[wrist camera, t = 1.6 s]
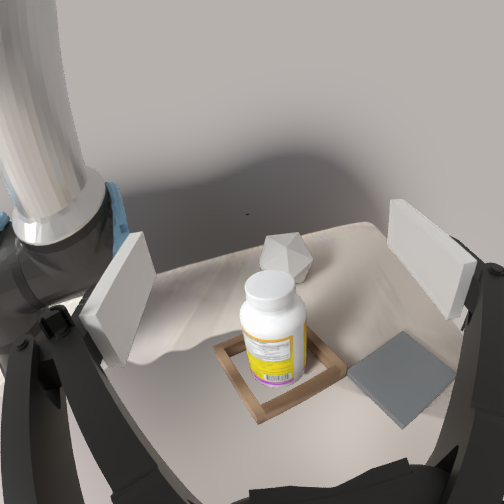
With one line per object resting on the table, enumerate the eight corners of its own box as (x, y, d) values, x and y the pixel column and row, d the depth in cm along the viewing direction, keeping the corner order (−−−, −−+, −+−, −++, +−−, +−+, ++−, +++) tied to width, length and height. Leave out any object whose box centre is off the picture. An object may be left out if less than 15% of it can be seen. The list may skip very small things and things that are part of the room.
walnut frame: (216, 356, 37) (213, 346, 36) (292, 322, 41) (292, 311, 40) (258, 424, 28) (256, 416, 27) (345, 376, 31) (347, 366, 30)
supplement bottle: (279, 339, 38) (272, 255, 32) (317, 366, 34) (321, 279, 27) (239, 368, 35) (220, 284, 28) (276, 400, 30) (267, 317, 24)
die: (309, 266, 53) (276, 223, 52) (332, 266, 45) (295, 215, 44) (276, 296, 52) (241, 253, 50) (294, 302, 43) (253, 251, 42)
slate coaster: (345, 373, 32) (346, 369, 31) (401, 335, 35) (402, 331, 35) (402, 429, 24) (404, 426, 23) (455, 378, 27) (457, 374, 27)
